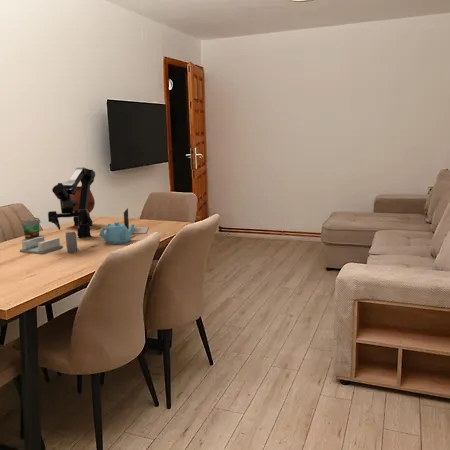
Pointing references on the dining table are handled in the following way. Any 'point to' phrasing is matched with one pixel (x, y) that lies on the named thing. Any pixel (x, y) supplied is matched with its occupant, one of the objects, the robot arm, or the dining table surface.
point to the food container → (31, 228)
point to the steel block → (71, 242)
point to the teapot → (116, 233)
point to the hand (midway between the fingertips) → (69, 228)
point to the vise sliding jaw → (32, 242)
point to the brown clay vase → (77, 198)
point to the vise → (44, 246)
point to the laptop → (136, 229)
